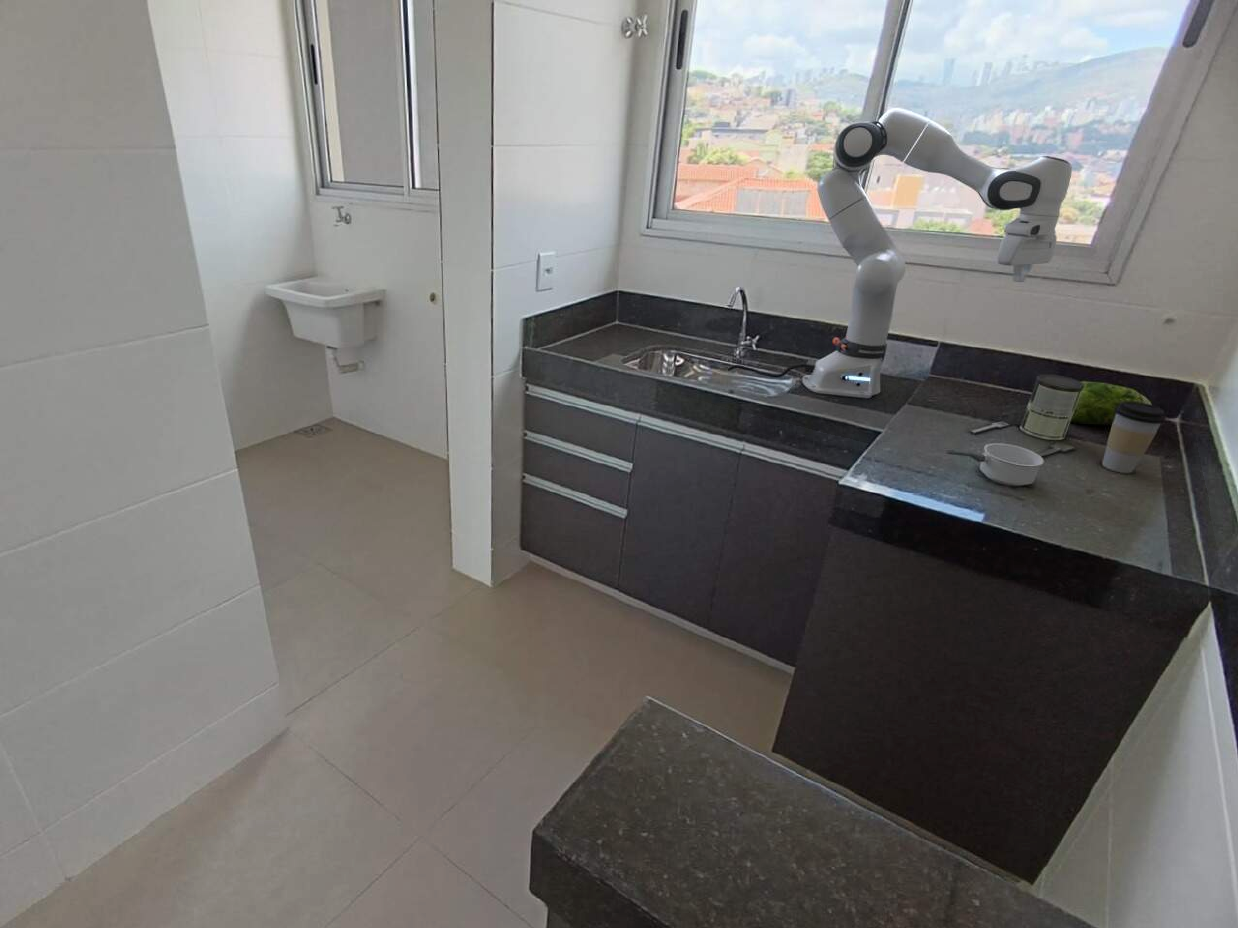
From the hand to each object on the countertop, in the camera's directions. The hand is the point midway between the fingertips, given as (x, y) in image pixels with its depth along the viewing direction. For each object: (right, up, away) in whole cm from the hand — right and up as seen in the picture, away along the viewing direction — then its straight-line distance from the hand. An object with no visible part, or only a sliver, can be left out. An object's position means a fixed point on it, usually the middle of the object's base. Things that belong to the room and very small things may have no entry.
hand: (1018, 281), depth 174 cm
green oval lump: (+24, -38, +4) cm, 45 cm away
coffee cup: (+9, -50, -22) cm, 55 cm away
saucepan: (-26, -51, -30) cm, 65 cm away
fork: (-10, -39, -4) cm, 41 cm away
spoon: (-2, -46, -16) cm, 48 cm away
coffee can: (+3, -41, -4) cm, 41 cm away
